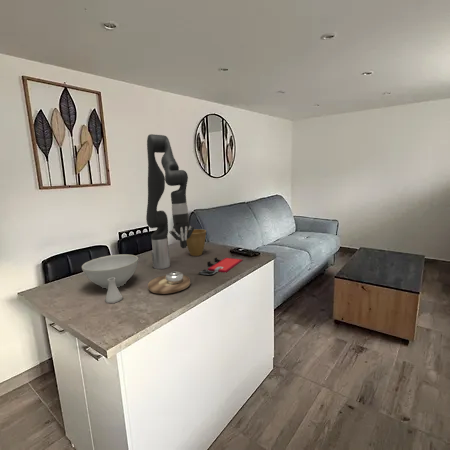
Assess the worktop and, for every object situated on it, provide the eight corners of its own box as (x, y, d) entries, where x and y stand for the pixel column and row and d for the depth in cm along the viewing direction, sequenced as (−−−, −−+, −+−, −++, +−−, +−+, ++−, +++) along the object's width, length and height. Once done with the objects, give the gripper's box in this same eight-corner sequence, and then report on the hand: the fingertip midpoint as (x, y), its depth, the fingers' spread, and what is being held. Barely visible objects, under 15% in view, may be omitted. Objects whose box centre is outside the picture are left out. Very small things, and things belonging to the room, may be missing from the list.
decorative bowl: (72, 292, 143) (68, 268, 141) (112, 273, 167) (109, 253, 165) (116, 297, 133) (112, 272, 131) (151, 277, 157) (148, 255, 155)
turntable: (141, 294, 135) (140, 289, 134) (158, 278, 154) (158, 274, 153) (182, 295, 131) (182, 290, 130) (195, 279, 150) (194, 274, 150)
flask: (112, 305, 126) (109, 283, 124) (102, 301, 130) (99, 280, 128) (126, 298, 132) (123, 277, 130) (115, 295, 136) (113, 275, 134)
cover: (164, 285, 138) (163, 275, 137) (169, 278, 146) (168, 270, 145) (181, 284, 137) (180, 275, 136) (184, 278, 145) (184, 269, 144)
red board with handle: (195, 274, 158) (219, 278, 151) (194, 269, 157) (219, 272, 151) (220, 259, 184) (242, 261, 177) (220, 254, 184) (242, 257, 177)
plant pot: (206, 257, 188) (205, 232, 185) (183, 258, 189) (181, 234, 186) (208, 251, 203) (206, 228, 200) (187, 252, 203) (185, 229, 200)
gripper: (188, 210, 147) (191, 244, 150) (164, 214, 139) (168, 249, 142) (196, 211, 141) (199, 246, 144) (171, 215, 133) (175, 252, 136)
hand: (183, 247), depth 143 cm, fingers closed
